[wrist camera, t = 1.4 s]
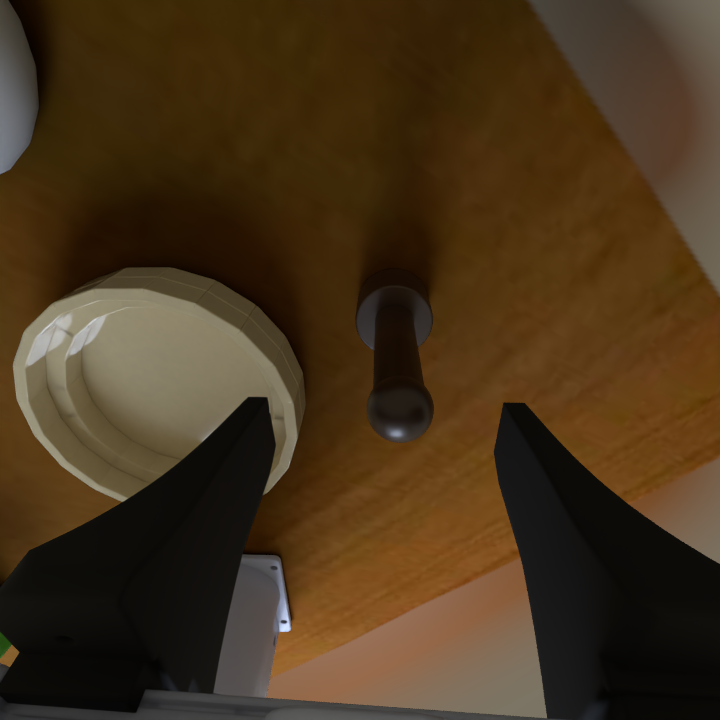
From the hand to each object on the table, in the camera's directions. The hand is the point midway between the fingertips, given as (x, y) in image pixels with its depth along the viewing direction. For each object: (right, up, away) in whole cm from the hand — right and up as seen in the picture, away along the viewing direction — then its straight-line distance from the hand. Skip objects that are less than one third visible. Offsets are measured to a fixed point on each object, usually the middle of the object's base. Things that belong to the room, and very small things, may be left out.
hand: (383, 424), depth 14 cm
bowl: (-11, +1, +12) cm, 16 cm away
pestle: (+1, +5, +9) cm, 10 cm away
